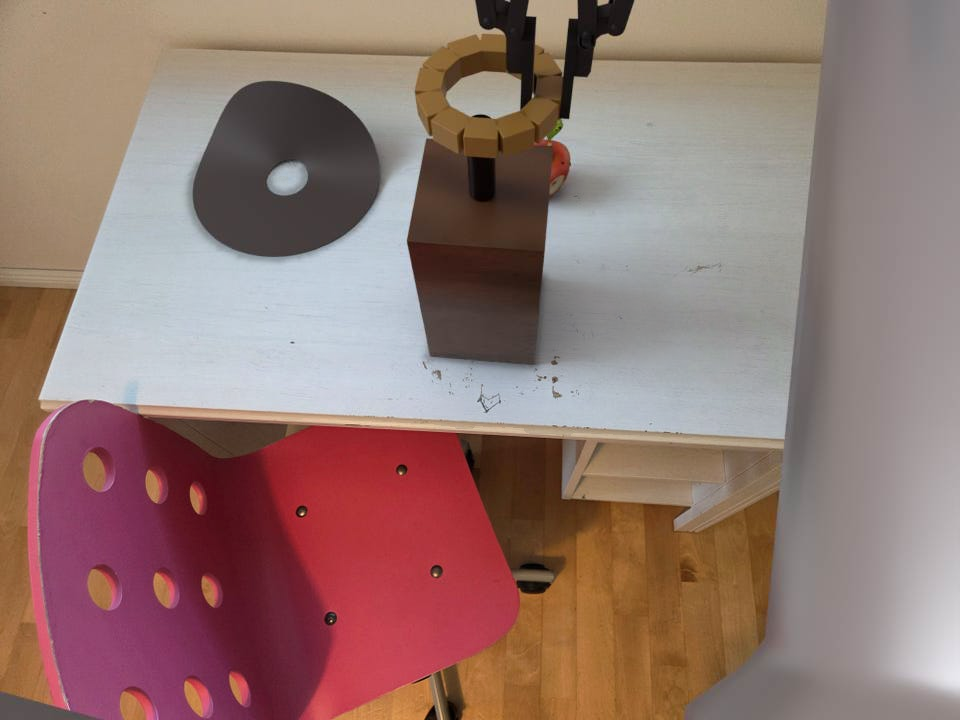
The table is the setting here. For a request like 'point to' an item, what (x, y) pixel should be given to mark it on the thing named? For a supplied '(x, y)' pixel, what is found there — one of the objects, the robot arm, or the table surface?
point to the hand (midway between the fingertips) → (545, 104)
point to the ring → (486, 132)
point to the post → (481, 175)
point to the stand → (480, 255)
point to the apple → (557, 159)
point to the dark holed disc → (269, 140)
